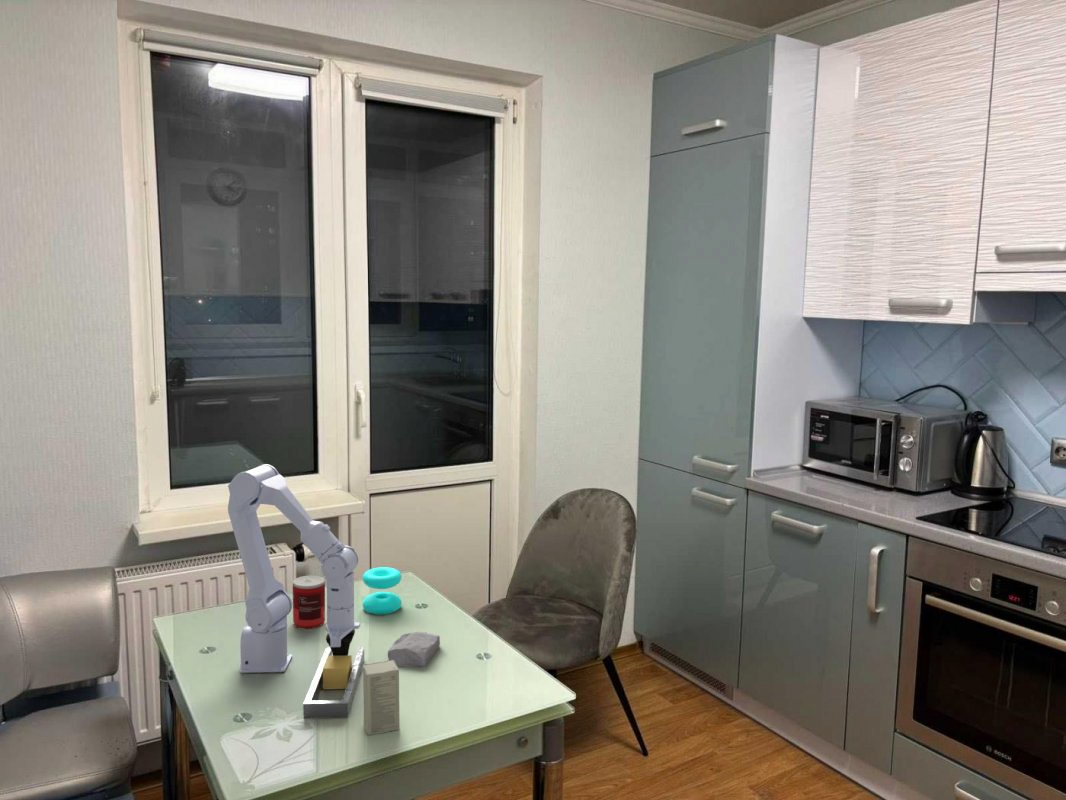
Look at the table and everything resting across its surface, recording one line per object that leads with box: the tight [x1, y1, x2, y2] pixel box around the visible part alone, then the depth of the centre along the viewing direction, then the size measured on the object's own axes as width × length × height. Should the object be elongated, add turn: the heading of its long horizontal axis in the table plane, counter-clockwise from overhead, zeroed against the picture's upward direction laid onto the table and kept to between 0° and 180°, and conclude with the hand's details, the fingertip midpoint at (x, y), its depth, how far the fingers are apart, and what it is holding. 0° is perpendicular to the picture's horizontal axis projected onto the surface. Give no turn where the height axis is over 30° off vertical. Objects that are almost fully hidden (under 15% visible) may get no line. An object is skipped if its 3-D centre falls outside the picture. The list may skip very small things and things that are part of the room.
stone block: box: [387, 631, 441, 668], centre depth 183 cm, size 12×5×10 cm
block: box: [322, 654, 353, 690], centre depth 168 cm, size 5×6×4 cm
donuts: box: [362, 566, 402, 615], centre depth 209 cm, size 10×10×10 cm
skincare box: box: [362, 660, 401, 736], centre depth 151 cm, size 6×4×12 cm
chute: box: [302, 646, 365, 719], centre depth 166 cm, size 8×25×3 cm, turn 5°
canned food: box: [292, 575, 326, 630], centre depth 198 cm, size 8×8×11 cm
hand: (340, 665), depth 172 cm, fingers closed
